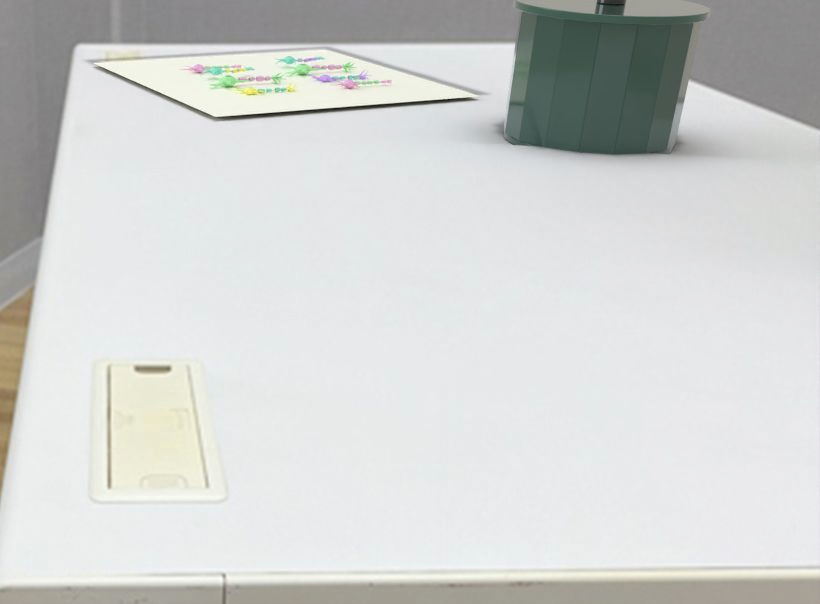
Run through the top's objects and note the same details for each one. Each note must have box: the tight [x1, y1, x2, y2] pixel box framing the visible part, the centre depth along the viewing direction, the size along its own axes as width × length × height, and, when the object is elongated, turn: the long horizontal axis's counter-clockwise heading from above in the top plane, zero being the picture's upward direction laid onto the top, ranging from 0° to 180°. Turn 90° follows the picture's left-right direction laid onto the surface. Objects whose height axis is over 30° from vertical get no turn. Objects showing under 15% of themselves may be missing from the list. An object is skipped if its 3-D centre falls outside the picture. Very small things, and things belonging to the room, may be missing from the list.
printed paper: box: [93, 49, 479, 118], centre depth 127 cm, size 30×30×2 cm
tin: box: [503, 10, 702, 155], centre depth 104 cm, size 15×15×10 cm
